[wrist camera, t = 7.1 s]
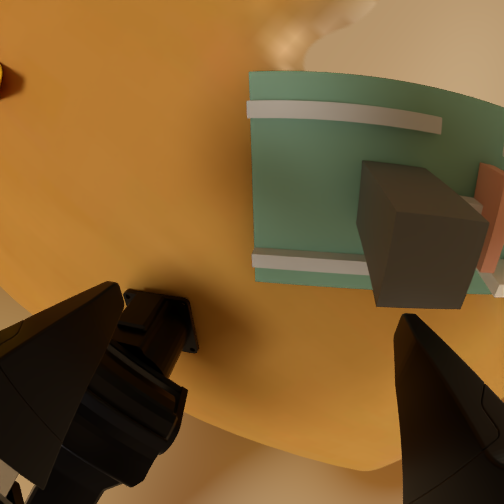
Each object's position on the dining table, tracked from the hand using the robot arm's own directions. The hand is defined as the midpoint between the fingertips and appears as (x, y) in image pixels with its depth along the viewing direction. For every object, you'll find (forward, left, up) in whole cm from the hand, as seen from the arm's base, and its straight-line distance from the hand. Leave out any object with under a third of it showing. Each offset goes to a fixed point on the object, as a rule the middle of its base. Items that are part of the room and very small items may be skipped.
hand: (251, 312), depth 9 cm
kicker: (0, -9, -11) cm, 14 cm away
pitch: (0, -10, -12) cm, 15 cm away
